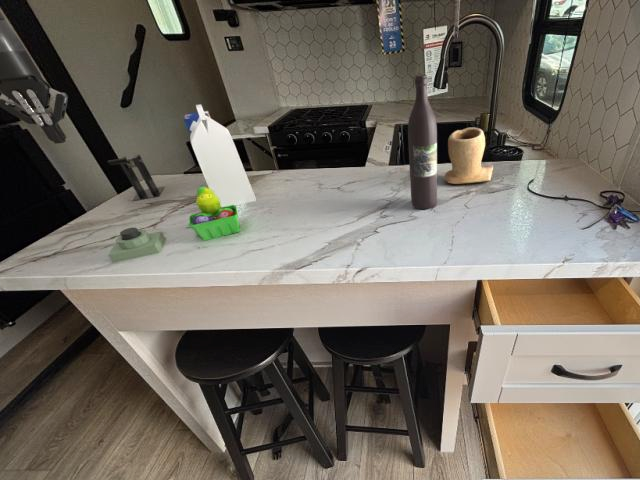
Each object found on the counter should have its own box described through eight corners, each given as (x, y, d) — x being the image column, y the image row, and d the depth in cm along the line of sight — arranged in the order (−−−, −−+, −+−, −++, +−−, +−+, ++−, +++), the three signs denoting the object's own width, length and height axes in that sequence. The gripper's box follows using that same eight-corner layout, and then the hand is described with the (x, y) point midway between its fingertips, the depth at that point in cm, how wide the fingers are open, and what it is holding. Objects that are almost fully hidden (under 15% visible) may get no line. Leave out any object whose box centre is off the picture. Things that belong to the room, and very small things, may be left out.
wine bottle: (412, 210, 91) (405, 78, 72) (410, 200, 96) (404, 75, 77) (438, 208, 91) (438, 76, 72) (435, 198, 96) (435, 72, 77)
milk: (256, 200, 104) (223, 105, 88) (217, 210, 101) (174, 112, 84) (251, 189, 113) (219, 100, 96) (215, 197, 109) (175, 106, 93)
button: (122, 242, 80) (117, 235, 79) (126, 235, 83) (122, 229, 82) (139, 238, 81) (134, 232, 80) (142, 232, 83) (138, 226, 82)
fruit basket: (198, 244, 84) (175, 201, 77) (198, 230, 90) (177, 189, 83) (245, 232, 87) (228, 190, 80) (242, 220, 94) (226, 179, 87)
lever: (127, 164, 98) (123, 155, 98) (110, 167, 97) (106, 158, 97) (143, 166, 109) (139, 158, 108) (127, 168, 108) (124, 160, 107)
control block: (113, 262, 80) (102, 248, 77) (122, 247, 86) (113, 233, 83) (159, 253, 82) (150, 238, 80) (165, 238, 88) (157, 224, 86)
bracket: (160, 199, 111) (139, 159, 103) (133, 204, 109) (109, 164, 101) (166, 189, 119) (146, 151, 110) (141, 194, 117) (119, 155, 109)
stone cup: (445, 190, 100) (446, 135, 91) (443, 176, 110) (444, 125, 100) (497, 187, 99) (503, 132, 90) (491, 173, 108) (496, 122, 99)
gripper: (48, 47, 72) (98, 135, 83) (-28, 52, 69) (35, 142, 80) (30, 47, 66) (87, 142, 77) (-53, 53, 63) (18, 150, 74)
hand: (60, 142), depth 78 cm, fingers closed
